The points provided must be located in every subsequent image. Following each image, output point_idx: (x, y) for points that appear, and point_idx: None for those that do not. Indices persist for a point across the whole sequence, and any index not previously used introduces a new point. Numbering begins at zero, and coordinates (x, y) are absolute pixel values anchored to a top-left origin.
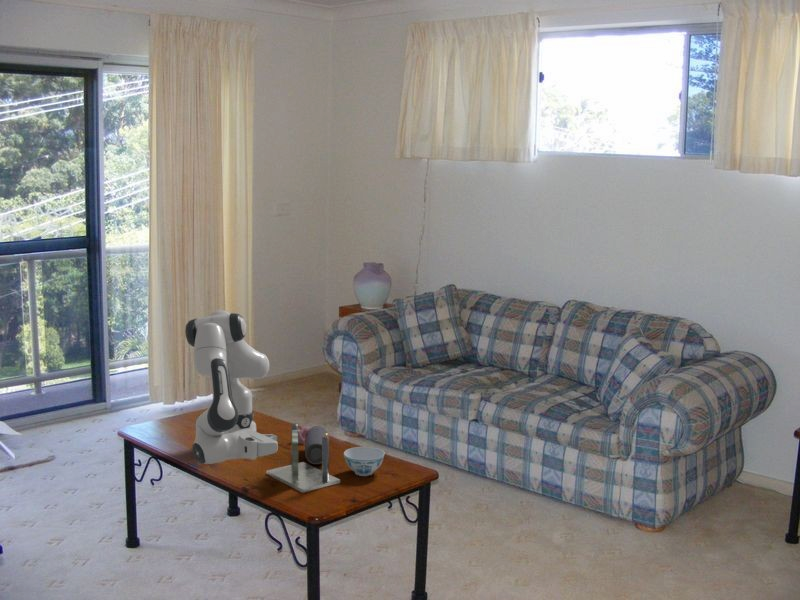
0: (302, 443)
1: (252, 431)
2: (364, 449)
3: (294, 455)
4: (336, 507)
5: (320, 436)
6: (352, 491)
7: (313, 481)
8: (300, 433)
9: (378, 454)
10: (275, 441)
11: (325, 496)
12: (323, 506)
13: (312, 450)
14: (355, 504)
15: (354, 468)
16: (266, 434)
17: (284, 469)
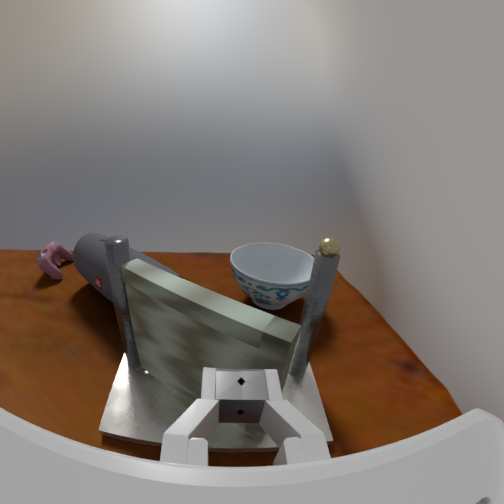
0: (59, 277)
1: (54, 469)
2: (240, 252)
3: (282, 378)
4: (439, 403)
5: (138, 254)
6: (361, 352)
7: (283, 391)
8: (49, 259)
9: (268, 253)
10: (490, 416)
11: (375, 405)
12: (431, 425)
13: None
14: (427, 371)
15: (289, 301)
16: (190, 411)
17: (134, 393)
